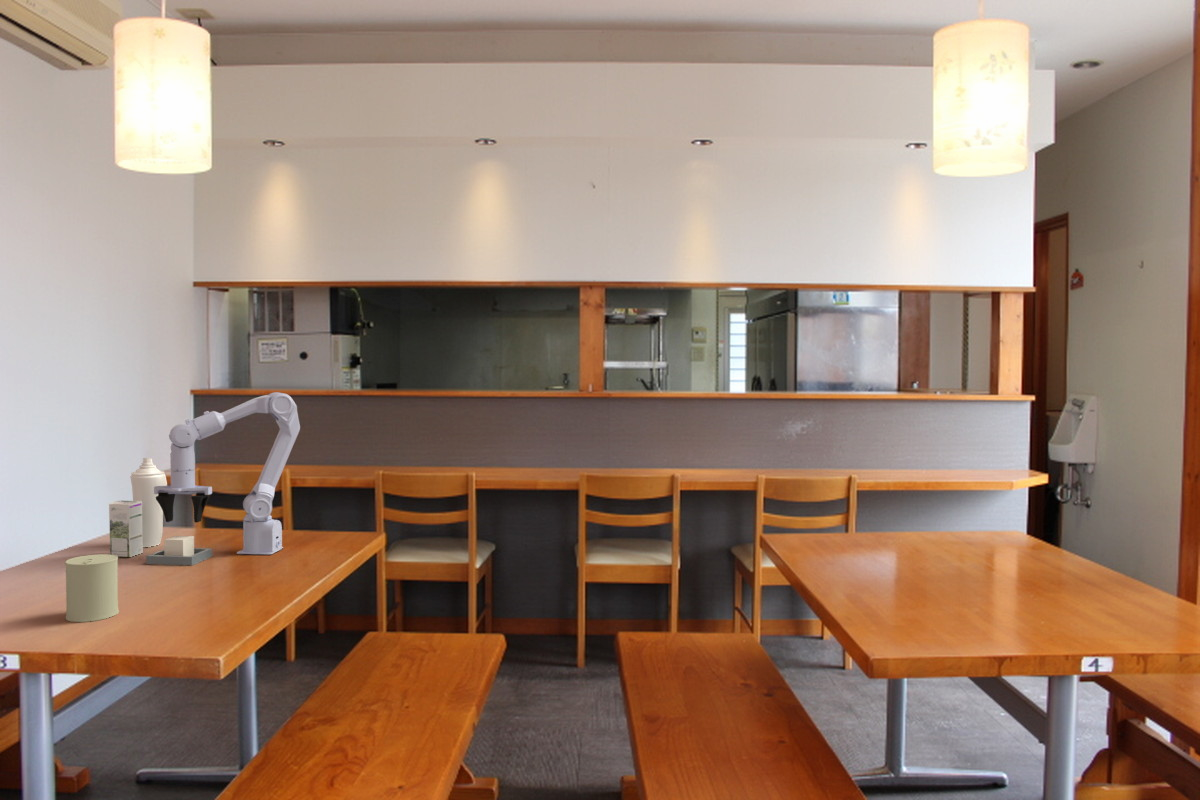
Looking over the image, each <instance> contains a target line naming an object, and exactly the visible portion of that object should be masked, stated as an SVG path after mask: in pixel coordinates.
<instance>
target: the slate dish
mask: <svg viewBox="0 0 1200 800" xmlns="http://www.w3.org/2000/svg"><path fill="white" fill-rule="evenodd" d="M210 557H211V558H213V548H212V547H211V548H210V547H207V548H205V547H204V548H203V547H197V548H196V547H194V555H191V556H167V555H164V548H163V549H161V550H158V551H155V552H152V553H150V554H148V555H145V565H146V564H163V565H164V566H187V565H191V566H194V565H196V564H199V563H201V562H204V561H206V560H208V559H211V558H210ZM203 560H204V561H203ZM163 565H162V566H163Z"/></svg>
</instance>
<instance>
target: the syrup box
mask: <svg viewBox="0 0 1200 800" xmlns="http://www.w3.org/2000/svg"><path fill="white" fill-rule="evenodd" d="M108 506H109V507H108V508H109V509H108V511H109V512H108V513H109V517H108V518H109V554H110V555H116V556H118V558H120V557H131V558H133V557H132V556H134V557H136V556H135V555H137V556H139V555H138V554H140V555H142V554H141V553H143V554H144V551H143V550H144V548H143V542H142V501H133V500H125V499H124V500H116V501H113V502H109V503H108Z"/></svg>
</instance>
